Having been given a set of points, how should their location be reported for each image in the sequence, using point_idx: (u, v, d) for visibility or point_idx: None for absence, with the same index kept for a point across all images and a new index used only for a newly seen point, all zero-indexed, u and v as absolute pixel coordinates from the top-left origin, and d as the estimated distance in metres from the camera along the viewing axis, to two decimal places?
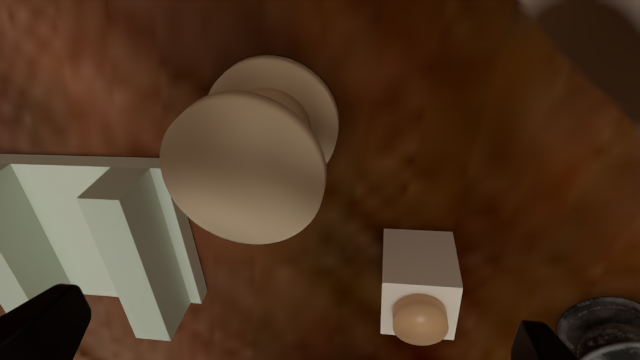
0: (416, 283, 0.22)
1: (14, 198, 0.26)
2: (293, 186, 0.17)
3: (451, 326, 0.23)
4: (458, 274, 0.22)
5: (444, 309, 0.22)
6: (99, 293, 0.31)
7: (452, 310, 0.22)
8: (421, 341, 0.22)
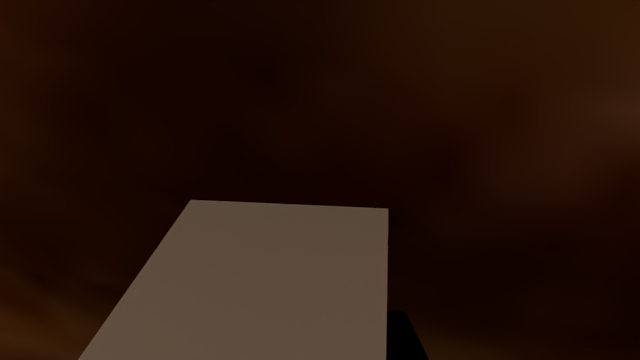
0: None
1: None
2: None
3: None
4: (88, 354, 0.06)
5: None
6: None
7: None
8: None
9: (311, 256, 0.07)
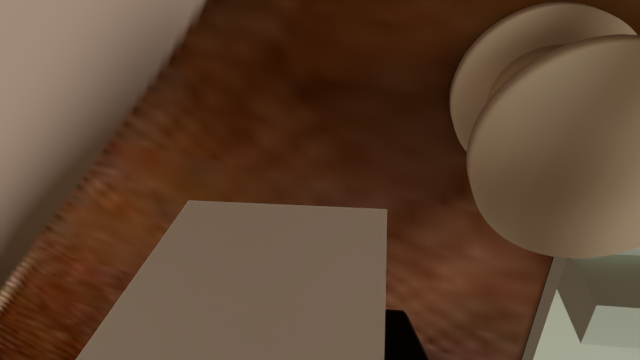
0: None
1: None
2: (633, 92, 0.11)
3: None
4: (84, 356, 0.06)
5: None
6: None
7: None
8: None
9: (309, 257, 0.07)
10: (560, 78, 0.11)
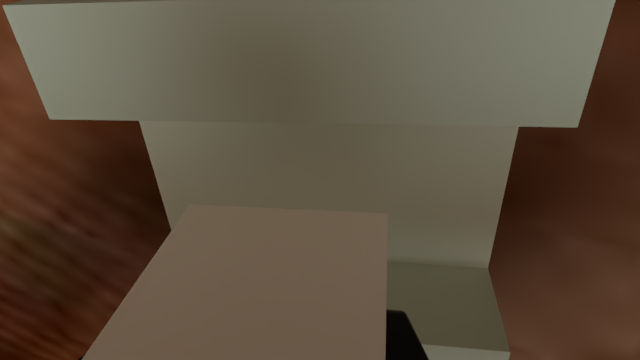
0: None
1: None
2: None
3: None
4: None
5: None
6: (492, 219, 0.13)
7: None
8: None
9: (310, 262, 0.07)
10: None
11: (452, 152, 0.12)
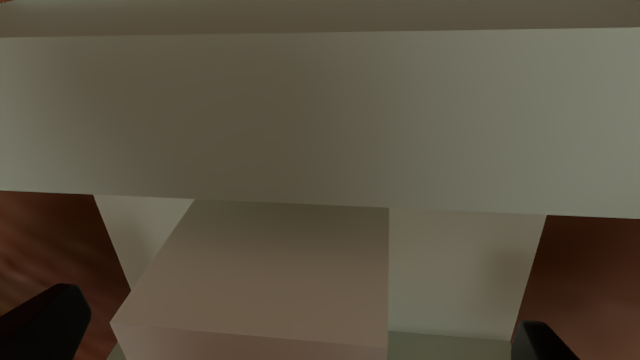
0: None
1: None
2: None
3: (307, 351, 0.06)
4: (143, 280, 0.07)
5: None
6: (518, 287, 0.11)
7: (222, 347, 0.06)
8: None
9: (324, 208, 0.08)
10: None
11: (470, 211, 0.10)
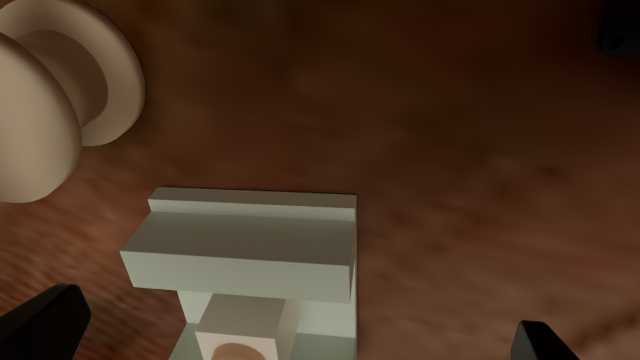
0: (204, 359, 0.22)
1: None
2: None
3: (253, 340, 0.20)
4: (202, 317, 0.21)
5: (220, 349, 0.21)
6: (352, 315, 0.25)
7: (228, 339, 0.20)
8: None
9: None
10: None
11: None
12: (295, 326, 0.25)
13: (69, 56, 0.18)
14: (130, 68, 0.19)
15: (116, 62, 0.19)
